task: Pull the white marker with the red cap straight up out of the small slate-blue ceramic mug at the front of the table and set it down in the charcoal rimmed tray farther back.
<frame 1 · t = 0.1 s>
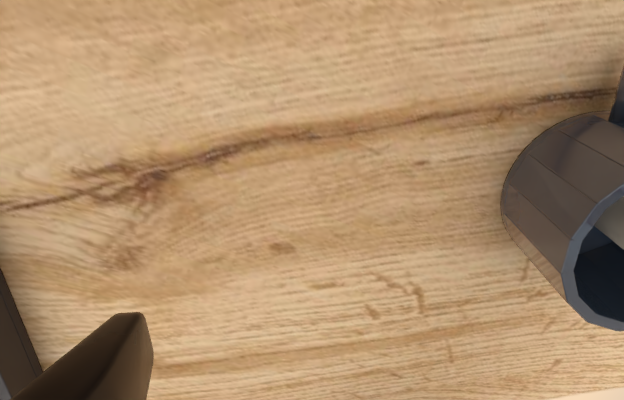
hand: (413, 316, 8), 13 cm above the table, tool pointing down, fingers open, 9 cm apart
mug: (580, 189, 22), on the table, touching marker
marker: (586, 193, 21), resting on mug
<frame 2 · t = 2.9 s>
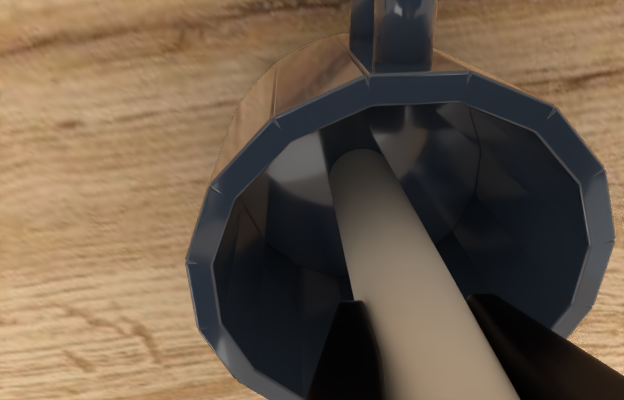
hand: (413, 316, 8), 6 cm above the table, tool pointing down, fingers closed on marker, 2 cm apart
mug: (358, 170, 13), on the table, touching marker
marker: (360, 177, 13), resting on mug, touching gripper
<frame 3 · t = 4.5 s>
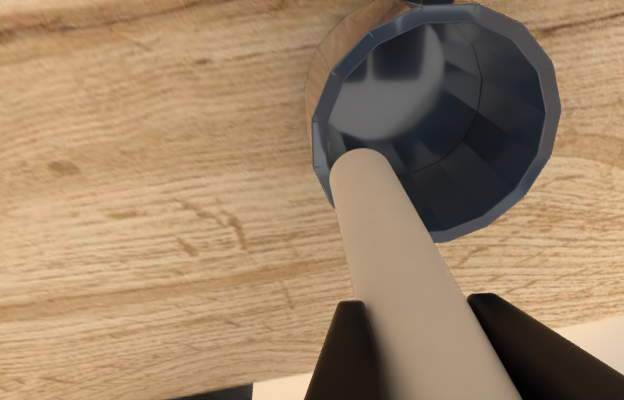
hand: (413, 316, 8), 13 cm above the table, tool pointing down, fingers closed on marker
mug: (396, 96, 19), on the table
marker: (360, 177, 13), point 7 cm above the table, touching gripper
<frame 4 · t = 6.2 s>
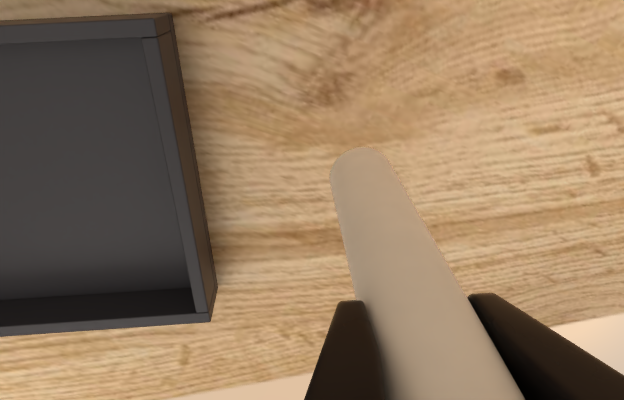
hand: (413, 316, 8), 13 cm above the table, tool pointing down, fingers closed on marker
tray: (27, 180, 20), on the table
marker: (360, 175, 13), point 7 cm above the table, touching gripper
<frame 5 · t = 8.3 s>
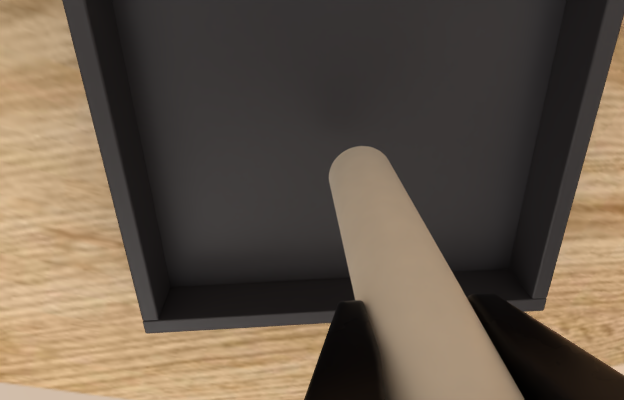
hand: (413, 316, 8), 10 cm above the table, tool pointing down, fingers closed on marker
tray: (341, 133, 16), on the table
marker: (360, 175, 13), point 4 cm above the table, touching gripper
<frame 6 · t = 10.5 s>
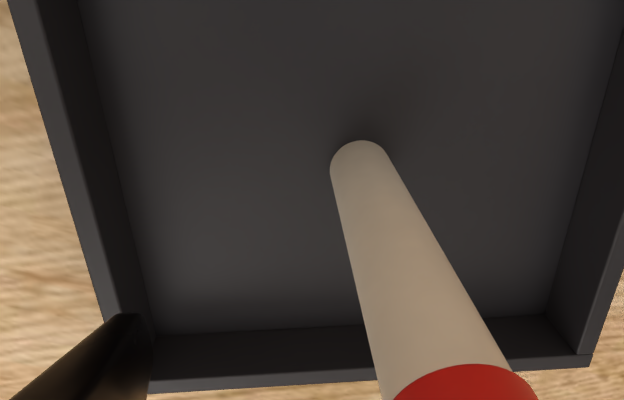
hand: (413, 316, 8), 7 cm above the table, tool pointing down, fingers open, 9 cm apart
tray: (355, 163, 14), on the table
marker: (359, 168, 13), point 1 cm above the table, touching tray
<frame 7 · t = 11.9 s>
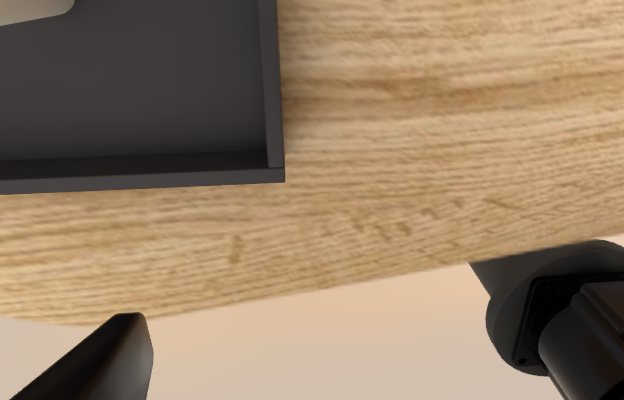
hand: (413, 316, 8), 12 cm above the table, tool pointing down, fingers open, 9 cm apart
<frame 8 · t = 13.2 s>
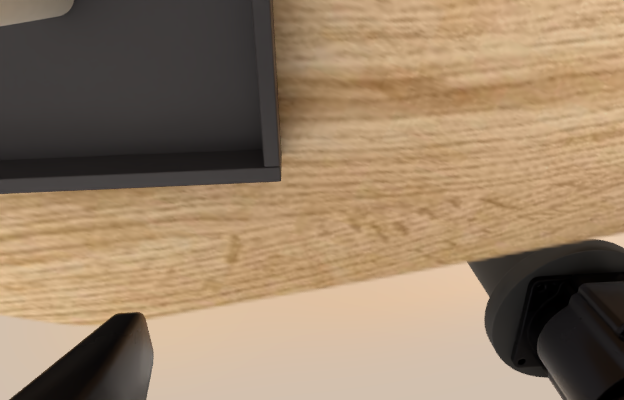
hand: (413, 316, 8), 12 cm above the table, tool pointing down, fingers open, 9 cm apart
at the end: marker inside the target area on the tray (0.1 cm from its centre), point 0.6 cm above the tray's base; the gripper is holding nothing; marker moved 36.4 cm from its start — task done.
